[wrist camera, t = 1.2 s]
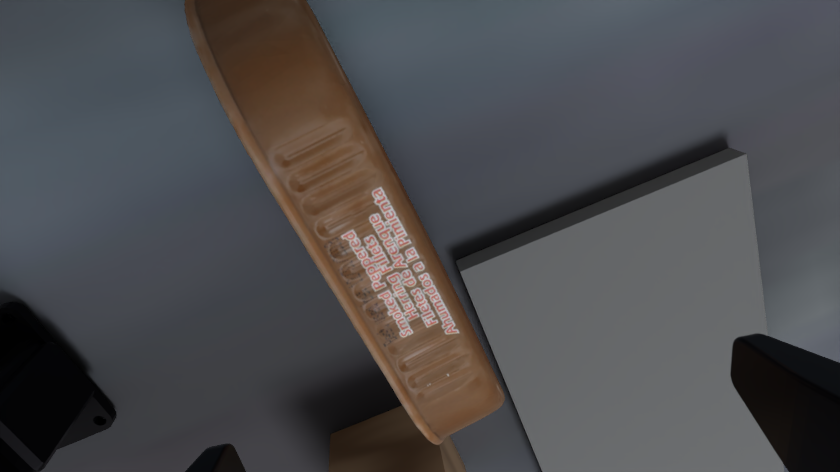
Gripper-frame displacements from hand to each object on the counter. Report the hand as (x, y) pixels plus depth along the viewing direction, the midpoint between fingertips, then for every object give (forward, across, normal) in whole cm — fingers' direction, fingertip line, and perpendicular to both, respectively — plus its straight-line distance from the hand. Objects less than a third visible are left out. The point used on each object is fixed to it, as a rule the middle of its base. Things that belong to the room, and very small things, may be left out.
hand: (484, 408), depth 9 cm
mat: (+12, -8, +12) cm, 19 cm away
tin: (+12, +2, -1) cm, 12 cm away
